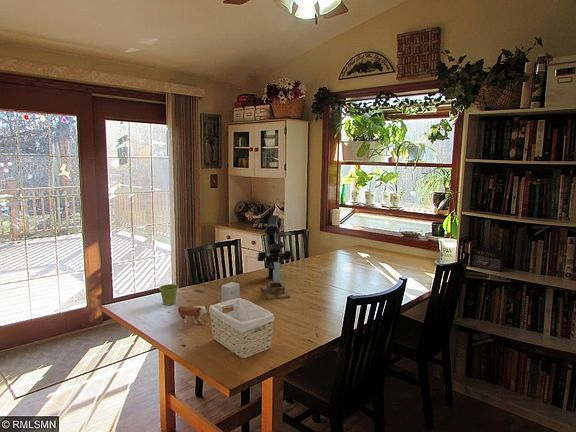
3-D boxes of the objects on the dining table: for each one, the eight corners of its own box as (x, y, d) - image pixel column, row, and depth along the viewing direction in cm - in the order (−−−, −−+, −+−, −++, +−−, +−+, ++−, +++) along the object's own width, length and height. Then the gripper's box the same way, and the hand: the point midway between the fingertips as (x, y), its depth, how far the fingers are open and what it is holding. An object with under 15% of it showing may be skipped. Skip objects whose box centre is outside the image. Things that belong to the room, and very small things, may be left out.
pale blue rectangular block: (275, 282, 218) (275, 264, 217) (273, 279, 223) (273, 261, 222) (280, 281, 219) (280, 263, 218) (278, 279, 224) (278, 261, 222)
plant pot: (171, 307, 198) (170, 290, 197) (155, 305, 201) (155, 288, 200) (182, 301, 207) (182, 285, 205) (167, 299, 210) (166, 283, 209)
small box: (232, 301, 208) (231, 281, 207) (240, 303, 205) (240, 283, 204) (221, 305, 202) (220, 285, 200) (229, 308, 199) (229, 287, 197)
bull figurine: (205, 325, 178) (205, 307, 177) (177, 323, 180) (176, 305, 179) (209, 321, 182) (209, 304, 181) (181, 319, 184) (181, 302, 183)
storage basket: (275, 349, 157) (276, 313, 155) (241, 362, 146) (241, 323, 144) (241, 329, 174) (240, 296, 172) (208, 339, 164) (207, 305, 162)
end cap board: (268, 299, 212) (268, 290, 211) (261, 288, 229) (261, 280, 228) (290, 297, 215) (290, 289, 214) (282, 287, 232) (282, 279, 231)
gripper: (258, 237, 220) (262, 262, 211) (291, 236, 225) (296, 260, 216) (255, 248, 229) (259, 272, 220) (287, 247, 233) (292, 270, 224)
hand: (276, 269), depth 220 cm, fingers closed on pale blue rectangular block, 3 cm apart
